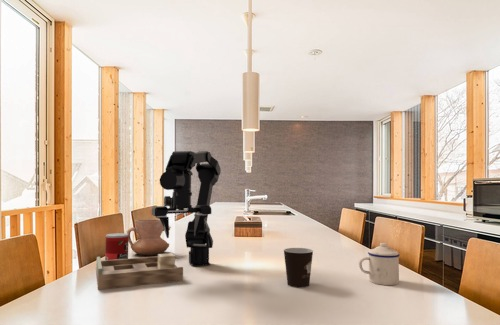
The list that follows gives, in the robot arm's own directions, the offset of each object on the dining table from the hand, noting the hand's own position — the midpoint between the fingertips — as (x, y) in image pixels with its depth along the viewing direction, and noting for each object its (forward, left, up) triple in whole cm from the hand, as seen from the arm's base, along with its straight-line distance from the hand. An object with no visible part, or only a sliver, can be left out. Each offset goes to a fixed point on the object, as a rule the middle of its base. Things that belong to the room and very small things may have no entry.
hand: (181, 236), depth 121 cm
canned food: (+18, -22, -12) cm, 31 cm away
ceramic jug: (+4, -40, -12) cm, 42 cm away
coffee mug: (-31, +25, -12) cm, 41 cm away
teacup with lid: (-54, +32, -12) cm, 64 cm away
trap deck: (+13, -2, -12) cm, 18 cm away
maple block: (+5, +2, -10) cm, 11 cm away
